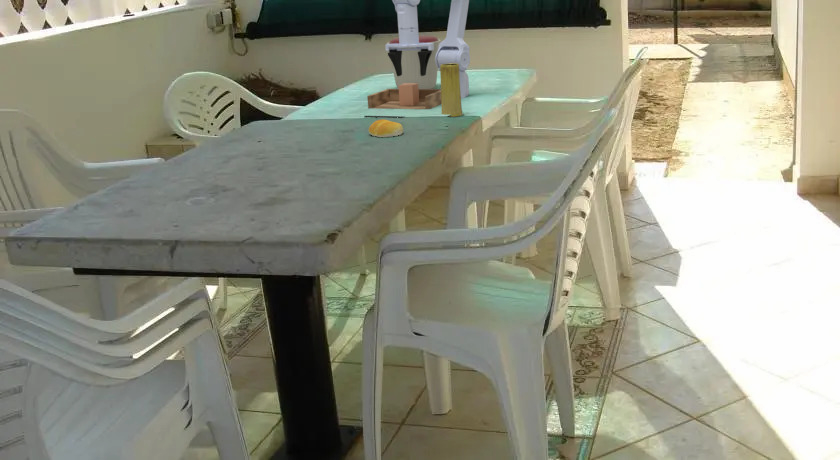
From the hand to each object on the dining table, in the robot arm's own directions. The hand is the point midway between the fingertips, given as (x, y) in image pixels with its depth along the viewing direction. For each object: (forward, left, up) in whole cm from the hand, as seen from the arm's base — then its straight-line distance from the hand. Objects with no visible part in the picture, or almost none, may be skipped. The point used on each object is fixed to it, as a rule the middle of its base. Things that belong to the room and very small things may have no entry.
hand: (411, 75), depth 259 cm
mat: (+8, -4, -10) cm, 14 cm away
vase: (+8, +15, -10) cm, 20 cm away
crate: (-4, -4, -10) cm, 12 cm away
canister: (-37, -16, -10) cm, 42 cm away
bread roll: (+36, +8, -11) cm, 38 cm away
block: (-5, -4, -9) cm, 11 cm away
